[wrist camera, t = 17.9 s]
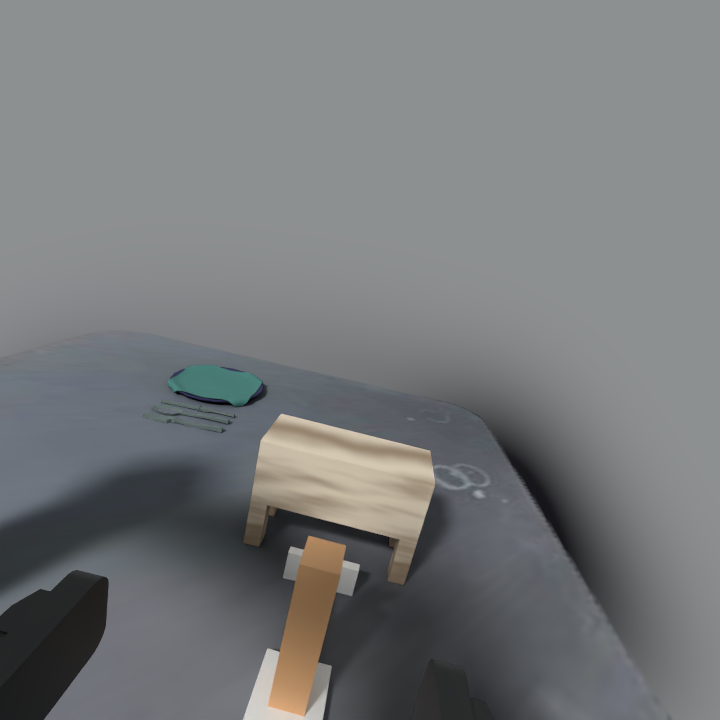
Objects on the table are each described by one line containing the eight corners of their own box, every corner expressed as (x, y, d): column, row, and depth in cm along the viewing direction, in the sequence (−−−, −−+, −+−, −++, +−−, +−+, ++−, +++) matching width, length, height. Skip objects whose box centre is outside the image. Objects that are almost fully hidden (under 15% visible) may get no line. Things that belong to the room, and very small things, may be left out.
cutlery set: (271, 384, 101) (273, 375, 100) (230, 440, 72) (232, 428, 72) (193, 367, 101) (193, 358, 100) (120, 417, 72) (120, 405, 71)
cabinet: (403, 585, 48) (435, 484, 45) (243, 542, 49) (260, 440, 45) (403, 532, 58) (429, 445, 54) (268, 497, 58) (284, 409, 55)
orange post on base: (328, 756, 31) (373, 601, 27) (228, 727, 31) (257, 570, 27) (352, 589, 46) (383, 475, 42) (285, 571, 46) (309, 456, 43)
